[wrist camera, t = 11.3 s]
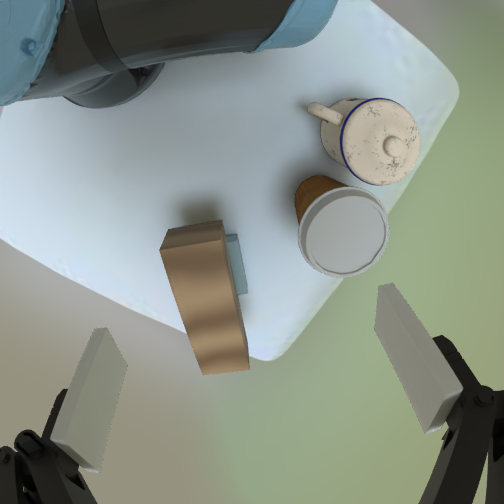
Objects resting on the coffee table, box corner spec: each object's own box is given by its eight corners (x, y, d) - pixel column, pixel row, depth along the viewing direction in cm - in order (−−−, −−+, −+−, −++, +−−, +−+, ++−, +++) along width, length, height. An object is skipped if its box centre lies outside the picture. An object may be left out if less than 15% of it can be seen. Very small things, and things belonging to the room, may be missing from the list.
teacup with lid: (395, 118, 35) (448, 131, 25) (366, 178, 39) (409, 209, 28) (314, 72, 32) (348, 63, 22) (284, 138, 36) (305, 156, 26)
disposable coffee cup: (304, 245, 43) (327, 297, 32) (267, 188, 39) (281, 226, 28) (364, 209, 41) (405, 250, 30) (332, 148, 37) (372, 171, 26)
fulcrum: (177, 244, 41) (170, 267, 36) (237, 234, 41) (238, 256, 36) (192, 293, 45) (187, 320, 40) (247, 285, 45) (249, 311, 40)
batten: (168, 229, 34) (159, 250, 30) (222, 219, 34) (220, 239, 29) (204, 348, 42) (202, 375, 38) (247, 342, 42) (249, 369, 38)
